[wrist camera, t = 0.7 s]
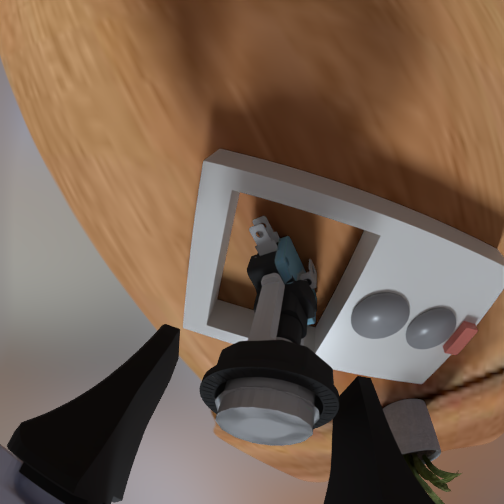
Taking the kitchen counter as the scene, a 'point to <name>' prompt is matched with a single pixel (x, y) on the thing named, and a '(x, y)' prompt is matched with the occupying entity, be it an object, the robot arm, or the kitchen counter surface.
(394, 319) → the control panel
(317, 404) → the push button
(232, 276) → the kitchen counter surface
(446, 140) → the kitchen counter surface
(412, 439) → the house plant
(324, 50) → the kitchen counter surface
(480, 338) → the kitchen counter surface
